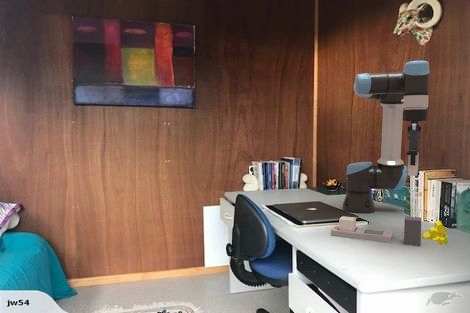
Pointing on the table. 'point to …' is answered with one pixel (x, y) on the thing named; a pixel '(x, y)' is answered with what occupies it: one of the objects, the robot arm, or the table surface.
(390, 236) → the power strip
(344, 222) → the block
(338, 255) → the table surface
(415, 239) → the block
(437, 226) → the yellow lumpy cluster
